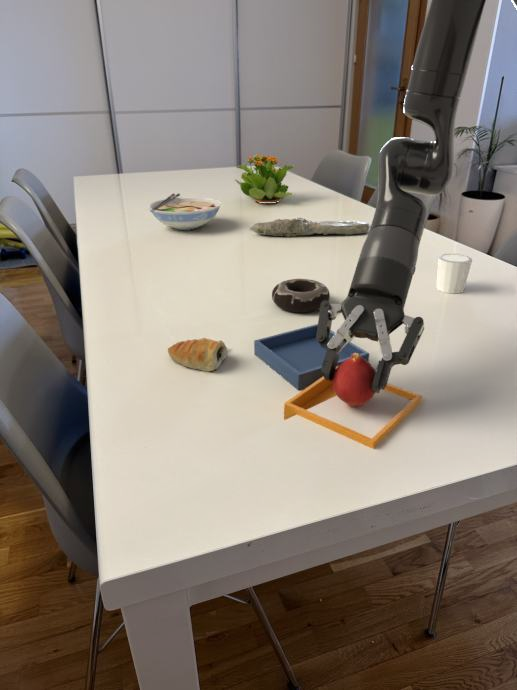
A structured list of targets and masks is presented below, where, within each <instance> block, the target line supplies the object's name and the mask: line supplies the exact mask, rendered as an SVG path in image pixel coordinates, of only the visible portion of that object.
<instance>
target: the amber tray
mask: <svg viewBox="0 0 517 690" xmlns="http://www.w3.org/2000/svg"><path fill="white" fill-rule="evenodd" d="M337 367H338V366H337ZM337 367H336V368H337ZM332 381H333V379H332ZM332 381H327V380H326V379H325V378H324V376H323V377H321V378H320V379H319V380H317V381H316V382H314V383H313V384H311V385H310V386H309V387H307V388H304V389H302V390H300V392H298V393H297V394H295V395H294V396H293V397H292V398H290V399H288V400H287V401H285V402H284V403H283V404H284V405H283V420H284V421H286V420H289V419H290V418H292V417H295V416H299V417H301V418H303V419H306V420H308V421H310V422H312V423H314V424H317V425H318V426H321V427H324V428H326V429H328V430H330V431H332V432H334V433H337V434H339V435H341V436H344V437H346V438H347V439H348V438H349V439H350V440H352V441H354V442H357V443H359V444H361V445H364V446H366V447H368V448H370V449H375V447H376V446H377V445H378V444H379V443H381V442H382V440H384V439H385V438H386V437H387V436H388V434H390V433H391V432H392V431H393V430H394V429H395V428H396V427H397V426H398V425H399V424H401V422H402V421H403V420H404V419H405V418H406V417H407V416H408V415H409V414H410V413H411V412H412V411H413V410H414V409H415V408H417V406H418V405H419V404H420V403H422V401H423V395H421V394H419V393H416V392H414V391H411V390H408V389H405V388H402V387H399V386H398V385H397V386H396V385H393V384H392V383H389V382H387V386H386V387H385V389H384V391H385V392H386V391H387V392H389V393H391V394H395V395H397V396H400V397H403V398H405V399H408V400H410V401H409V402H408V403H407V404H406V405H405V406H404V407H403V408H402V409H401V410H400V411H399V412H398V413H397V414H396V415H394V417H392V419H391V420H390V421H388V422H387V424H385V425H384V427H382V428H381V429H380V430H379V431H378V432H377V433H376V434H375V435H374V436H373V437H372V438H371V437H369V436H366V435H365V434H362V433H360V432H357V431H355V430H353V429H350V428H348V427H346V426H344V425H341V424H339V423H337V422H335V421H332V420H330V419H328V418H325V417H323V416H321V415H318V414H316V413H314V412H312V411H310V410H309V409H311V408H313V407H316V406H317V405H320V404H321V403H324V402H326V401H328V400H330V399H332V398H334V397H338V396H337V395H336V393H335V391H334V389H333V383H332Z"/></svg>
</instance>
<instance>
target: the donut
mask: <svg viewBox="0 0 517 690" xmlns="http://www.w3.org/2000/svg"><path fill="white" fill-rule="evenodd" d="M330 298H331V294H330V290H329V288H328V287H327V286H326V285H325V284H324V283H323V282H320V281H318V280H315V279H310V278H309V279H308V278H292V279H287V280H283V281H281V282H279V283H277V284H276V285H275V286H274V287H273V289H272V291H271V300H272V301H273V303H274V304H275V306H277V307H278V308H280V309H281V310H283V311H287V312H291V313H301V314H303V313H310V312H317V311H320V306H321V302H322V301H324V300H327V301H329V302H330Z"/></svg>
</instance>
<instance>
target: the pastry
mask: <svg viewBox="0 0 517 690" xmlns="http://www.w3.org/2000/svg"><path fill="white" fill-rule="evenodd" d="M167 353H168V355H169V356H168V357H170V360H172V361H173V362H174V363H177V364H178V365H181V366H183V367H186V368H188V369H191V370H196V369H197V370H200V371H201V370H202V371H201V372H214V370H215V369H216V370H217V369H219V367H220V366H221V364H222V361H224V360H225V359H226V358H227V356H228V349H227V346H226V344H225V342H224V341H222V339H221V340H214V339H209V338H206V337H202V338H199V339H197V338H196V339H186V340H182V341H178V342H176V343H175V344H173V345H171V346H169V347H168V348H167ZM216 370H215V371H216Z"/></svg>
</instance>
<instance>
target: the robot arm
mask: <svg viewBox="0 0 517 690" xmlns="http://www.w3.org/2000/svg"><path fill="white" fill-rule="evenodd" d="M486 1H487V0H431V1H430V4H429V8H428V10H427V14H426V18H425V20H424V24H423V27H422V30H421V34H420V37H419V40H418V43H417V46H416V47H417V48H416V50H415V55H414V59H413V63H412V66H411V71H410V76H409V80H408V85H407V88H406V94H405V98H404V103H403V113H404V115H405V116H406V117H407V118H409V119H411V120H412V121H415V122H418V123H421V124H424V125H426V126H428V127H429V128H430V129H431V130H432V132H433V134H434V141H427V140H422V139H414V138H409V137H401V136H400V137H393V138H391V139H390V140H388V141H387V142H386V143H385V144H384V145H383V147H382V148H381V150H380V152H379V155H378V159H377V186H378V187H377V190H378V191H377V202H376V205H375V206H376V207H375V211H374V213H373V214H374V215H373V218H372V222H371V225H370V227H369V230H368V232H367V236H366V239H365V240H364V242H363V245H362V247H361V250H360V253H359V257H358V260H357V263H356V266H355V269H354V274H353V277H352V280H351V283H350V286H349V290H348V293H347V296H346V298H345V299H344V300H343V301H342V302H341V303H330V300H329V301H327V300H324V301H322V302H321V306H320V309H319V312H318V313H319V314H318V321H317V324H318V327H317V334H316V340H317V341H318V343H319V344H320V346H321V347H323V348H325V349H326V354H325V357H324V360H323V364H322V367H321V372H322V373H323V375H324V378H325V379H326V380H327V381H332V379H333V374H334V372H335V370H336V366H337V363H338V360H339V355H338V353H339V352H340V351H341V350H342V349H343V348H344V347H345V345H346V344H348V343H350V342H351V343H352V340H353V339H355V338H357V339H368V340H370V341H372V342H379V347H380V352H381V360H378V362H377V366H376V369H375V371H376V373H375V377H374V380H373V384H372V390H373V392H376V393H375V394H380V391H381V390H384V389H385V387H386V386H387V383H389V379H390V374H391V371H392V368H393V367H394V366H396V365H402V366H407V365H408V364H409V362H410V361H411V358H412V356H413V354H414V352H415V351H416V348H417V346H418V344H419V341H420V340H421V337H422V335H423V333H424V330H425V322H424V318H423V317H421V316H416V317H413V316H410V315H407V314H405V306H406V302H407V298H408V294H409V291H410V287H411V283H412V280H413V276H414V275H415V272H416V269H417V268H416V265H417V261H418V257H419V249H420V244H421V241H422V237H423V233H424V230H425V225H426V223H427V218H428V208H427V205H426V204H425V203H424V201H423V200H422V199H420V198H419V197H417V196H415V195H413V194H418V195H424V196H429V197H430V196H431V197H433V196H438V195H440V194H441V193H443V192H444V191H445V190H446V189H447V188H448V187H449V185H450V183H451V182H452V180H453V176H454V168H455V145H454V144H455V126H456V118H457V112H458V108H459V104H460V100H461V96H462V93H463V89H464V86H465V82H466V78H467V74H468V70H469V67H470V64H471V60H472V56H473V52H474V49H475V45H476V38H477V36H478V33H479V32H478V31H479V28H480V23H481V20H482V16H483V14H484V13H483V12H484V9H485V5H486ZM511 2H512V3H513V5H514V7H515V8H516V9H517V0H511ZM411 193H413V194H411ZM339 314H342V316H343V319H344V321H342V323H341V325H339V327H338V328H337V329H336V332H335V333H336V334H335V335H334V336H333V337H332V338H331V339H330V331H332V323H333V322H332V321H334V320H336V319H337V317H338V315H339ZM402 325H404V332H405V334H406V335H405V337H404V339H403V342H402V343H401V346H400V348H399V350H398V351H393V348H392V342H391V337H390V335H391V334H392V333H394V331H396V330H397V329H398V328H399V327H401V326H402ZM384 391H385V390H384Z"/></svg>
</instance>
